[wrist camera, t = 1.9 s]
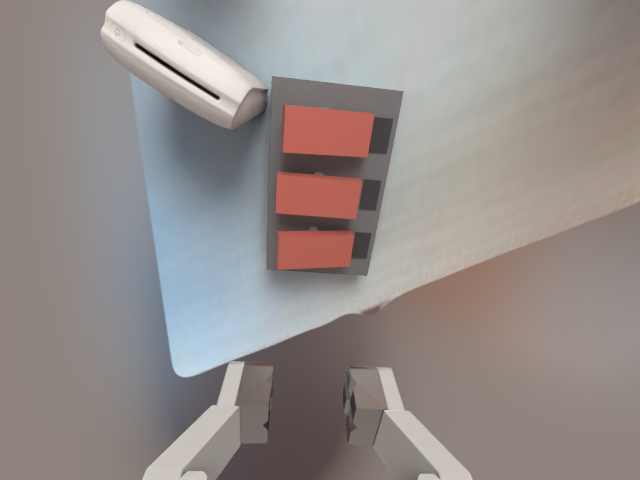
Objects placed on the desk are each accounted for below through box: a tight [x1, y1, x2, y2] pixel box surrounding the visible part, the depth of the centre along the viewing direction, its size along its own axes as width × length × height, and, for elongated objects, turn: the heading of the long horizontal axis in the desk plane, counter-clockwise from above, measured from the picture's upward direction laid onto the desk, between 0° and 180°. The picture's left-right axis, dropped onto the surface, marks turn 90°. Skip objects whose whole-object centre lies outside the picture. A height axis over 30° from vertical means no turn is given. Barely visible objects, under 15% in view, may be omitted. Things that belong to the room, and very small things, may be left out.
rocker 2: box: [276, 171, 362, 219], centre depth 30 cm, size 8×4×1 cm, turn 84°
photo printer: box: [101, 0, 268, 130], centre depth 25 cm, size 10×4×12 cm, turn 57°
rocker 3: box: [276, 230, 354, 270], centre depth 32 cm, size 8×4×1 cm, turn 85°
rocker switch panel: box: [267, 76, 404, 276], centre depth 33 cm, size 12×20×5 cm, turn 174°
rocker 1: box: [281, 104, 375, 157], centre depth 27 cm, size 8×4×1 cm, turn 85°
